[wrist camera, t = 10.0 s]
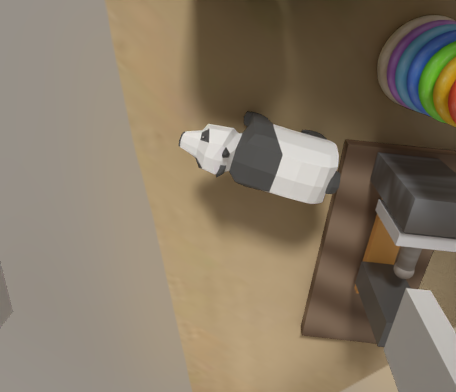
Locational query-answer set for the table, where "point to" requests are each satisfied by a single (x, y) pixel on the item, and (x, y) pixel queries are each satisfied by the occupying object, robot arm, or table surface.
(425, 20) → the stacking toy
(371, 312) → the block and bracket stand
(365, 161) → the board
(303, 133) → the giant panda
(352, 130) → the table surface
